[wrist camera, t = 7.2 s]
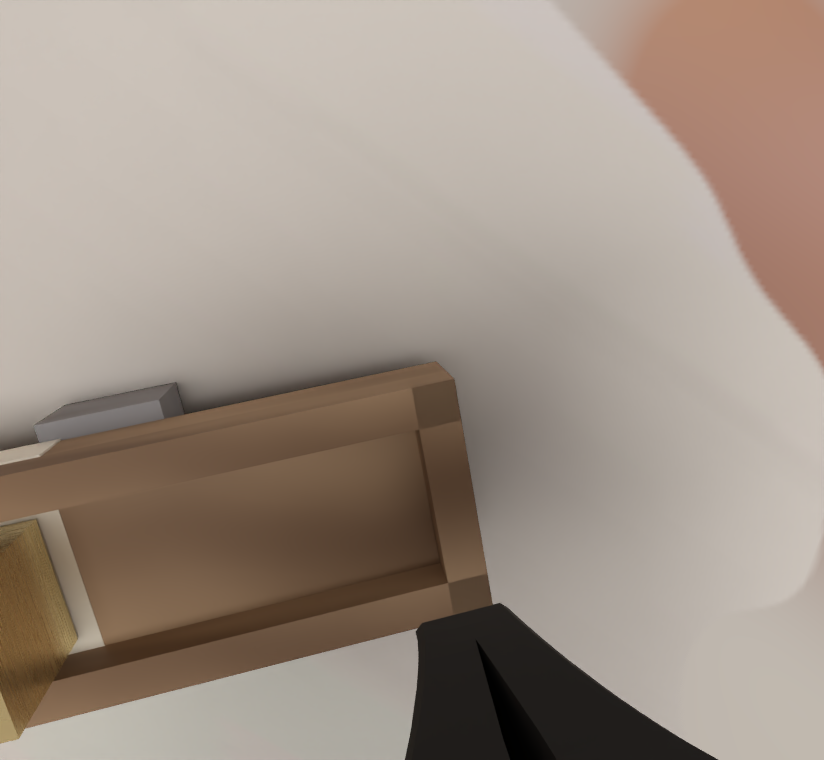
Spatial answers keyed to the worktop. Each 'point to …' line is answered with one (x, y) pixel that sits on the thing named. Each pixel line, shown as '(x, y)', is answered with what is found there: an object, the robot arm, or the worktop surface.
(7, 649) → the tan wooden block
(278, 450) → the beam
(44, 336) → the worktop surface
